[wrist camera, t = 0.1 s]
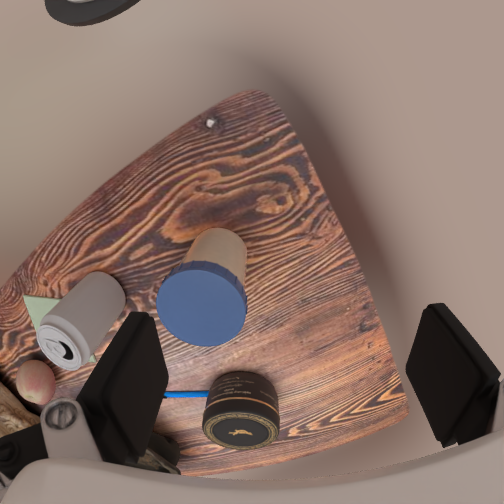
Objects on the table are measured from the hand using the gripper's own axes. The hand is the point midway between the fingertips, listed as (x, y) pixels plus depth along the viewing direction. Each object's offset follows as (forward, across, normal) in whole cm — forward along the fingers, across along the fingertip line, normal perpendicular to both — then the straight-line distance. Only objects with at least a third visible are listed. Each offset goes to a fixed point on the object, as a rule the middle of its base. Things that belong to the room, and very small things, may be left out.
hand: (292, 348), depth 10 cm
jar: (+22, +4, +27) cm, 35 cm away
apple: (+22, +40, +27) cm, 53 cm away
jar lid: (+11, +6, +6) cm, 14 cm away
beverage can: (+22, +21, +10) cm, 32 cm away
